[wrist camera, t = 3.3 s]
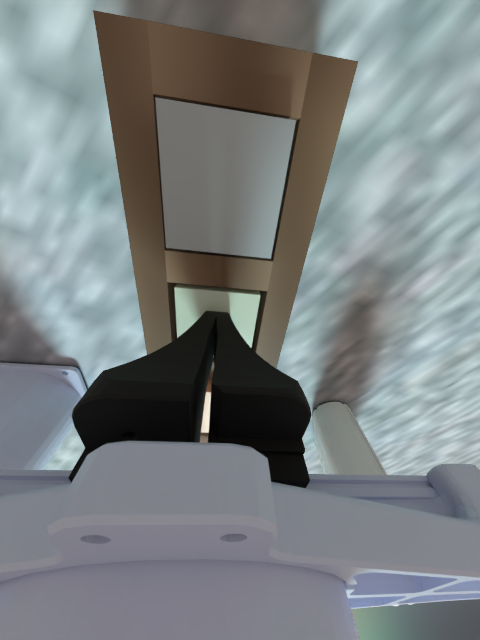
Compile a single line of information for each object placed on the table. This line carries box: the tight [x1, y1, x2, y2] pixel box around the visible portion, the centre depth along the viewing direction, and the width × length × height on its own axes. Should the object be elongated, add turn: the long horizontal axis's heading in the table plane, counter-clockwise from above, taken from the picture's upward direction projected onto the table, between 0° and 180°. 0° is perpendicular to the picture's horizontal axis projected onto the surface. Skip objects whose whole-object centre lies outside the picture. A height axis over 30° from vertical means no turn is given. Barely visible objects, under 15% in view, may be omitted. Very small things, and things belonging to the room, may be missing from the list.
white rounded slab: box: [313, 402, 414, 606], centre depth 19 cm, size 10×4×12 cm, turn 14°
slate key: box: [155, 97, 296, 259], centre depth 8 cm, size 4×4×2 cm
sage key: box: [174, 283, 260, 347], centre depth 12 cm, size 4×4×2 cm
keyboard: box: [93, 10, 358, 436], centre depth 15 cm, size 8×28×4 cm, turn 174°
